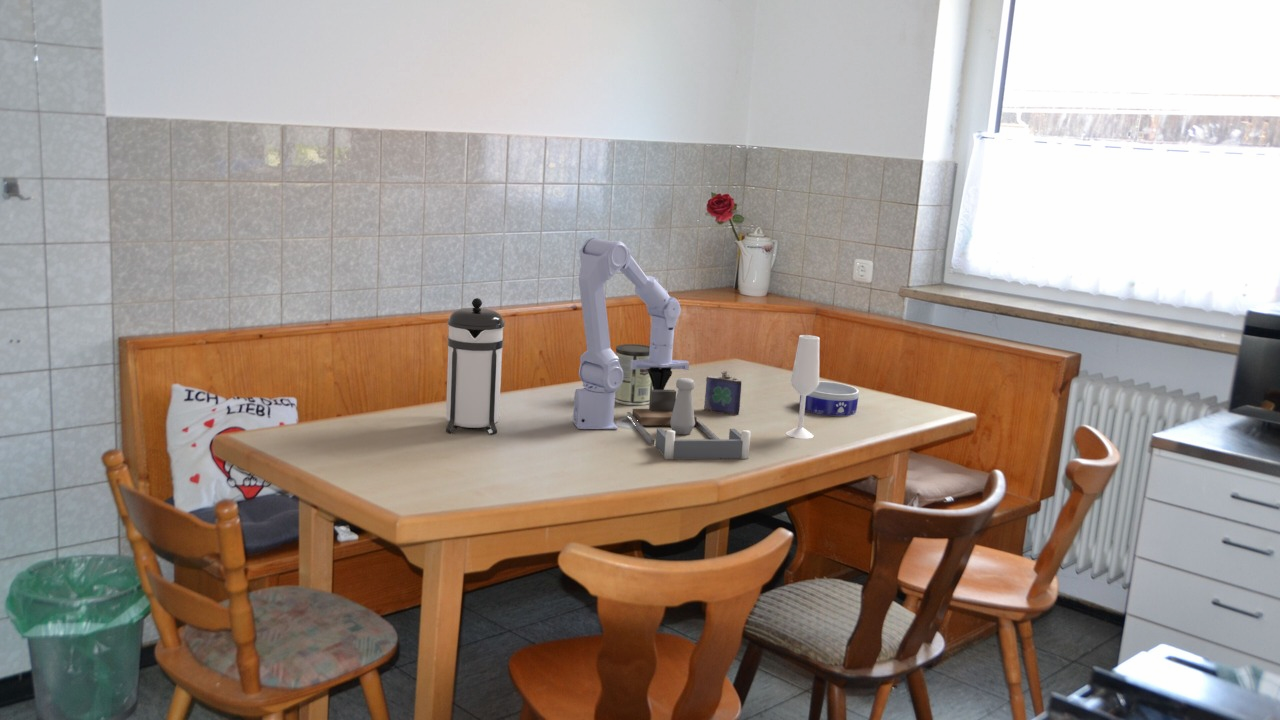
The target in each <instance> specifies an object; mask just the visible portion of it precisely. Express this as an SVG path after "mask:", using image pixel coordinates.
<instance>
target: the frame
mask: <svg viewBox="0 0 1280 720" xmlns="http://www.w3.org/2000/svg"><path fill="white" fill-rule="evenodd" d="M655 434H656V435H655V448H657V449H658V450H659V452H660V453H661V454H662V455H663V458H664V459H665V460H677V459H678V460H680V459H682V460H683V459H684V460H691V459H692V460H695V459H700V460H701V459H705V460H706V459H707V460H708V459H709V460H711V459H713V458H714V459H720V458H722V459H724V458H726V459H728V458H729V459H743V460H747V459H749V457H750V446H751V443H750V442H751V430H747V429H743V430H741V432H739V431H738V430H737V429H736V428H729V432H728V438H727V439H725V438H724V439H720V438H719V439H710V438H709V439H690V438H689V439H687V438H686V439H678V438H677V439H676V433H675V431H673V430H672V429H667V430H664V429H663V428H656V433H655ZM724 460H725V459H724Z"/></svg>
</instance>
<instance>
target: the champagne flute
mask: <svg viewBox="0 0 1280 720" xmlns="http://www.w3.org/2000/svg"><path fill="white" fill-rule="evenodd" d="M820 340H821V339H820V337H819V336H817V335H809V334H800V335H799V336H798V342H797V347H796V352H795V358H794V362H793V363H794V364H793V368H792V373H791V376H790V383H791V386H792V388H793V389H794V390H795V391H796V392H797V393H798V394H799V396H800V395H801V402H800V401H799V412H798V423H797V427H794V428H793V429H790V430H788V431H786V432H785V434H786V435H787V436H788V437H791V438H795V439H804V440H806V439H807V440H808V439H813V438H814V434H813V433H811V432H810V431H808V430H807V429H806V428H804V419H805V411H806V410H805V401H806V396H807V395H809V394H810V393H812V392H813V391H814V390H815V389H816V388H817V387H818V385H819V381H820Z"/></svg>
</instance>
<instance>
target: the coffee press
mask: <svg viewBox="0 0 1280 720" xmlns="http://www.w3.org/2000/svg"><path fill="white" fill-rule="evenodd" d="M482 304H483V301H482V300H481V298H479V297H478V298H477V297H476V298H474V299H473V300H472V301H471V306H472V307H465V308H459V309H456V310H454V311H453V312H452V313H451V314H450V315H449V318H448V319H447V321H446V323H447V326H448V335H447V340H446V341H447V343H446V345H447V347H448V348H447V373H446V374H447V375H446V407H445V409H446V410H445V414H446V415H445V417H446V420H447V422H448V424H447V425H446V427H445V432H446V433H448V434H451V433H452V434H454V433H455V432H456V430H457V429H458V428H460V427H461V428H470V429H472V428H473V429H476V428H477V429H479V428H483V429H485V430H486V432H487V433H488V435H490V436H493V435H496V434H498V429H497V427H496V424H497V423H498V422H499V419H500V406H501V385H502V384H501V383H502V365H503V364H502V361H503V360H502V359H503V348H504V337H503V335H504V328H505V326H506V322H505V321H504V318H503V316H502V314H500V313H499V312H498V311H495V310H493V309H491V308H489V309H488V308H483V307H481V306H483V305H482Z"/></svg>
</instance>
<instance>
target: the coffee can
mask: <svg viewBox="0 0 1280 720" xmlns="http://www.w3.org/2000/svg"><path fill="white" fill-rule="evenodd" d="M649 351H650V345H645V344H639V343H638V344H636V343H635V344H633V343H625V344H619V345H616V347H615V354H616V356H617V357H618V358H619V364H620V366H621V368H622V370H623V374H624V376H623V381H622V384H621V385H620V387H619V388H618V390H617V391H615V403H617V404H621V405H625V406H626V405H627V406H645V405H649V403H650V389H652V390H653V385H652V381H651V378H650V376H649V373H648V370H647V369H632V368H631V360H644V359H649Z"/></svg>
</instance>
